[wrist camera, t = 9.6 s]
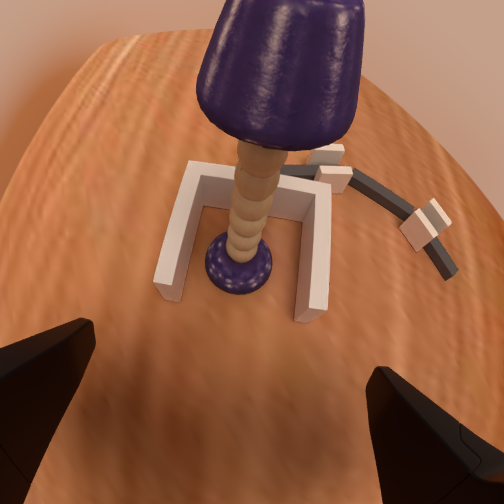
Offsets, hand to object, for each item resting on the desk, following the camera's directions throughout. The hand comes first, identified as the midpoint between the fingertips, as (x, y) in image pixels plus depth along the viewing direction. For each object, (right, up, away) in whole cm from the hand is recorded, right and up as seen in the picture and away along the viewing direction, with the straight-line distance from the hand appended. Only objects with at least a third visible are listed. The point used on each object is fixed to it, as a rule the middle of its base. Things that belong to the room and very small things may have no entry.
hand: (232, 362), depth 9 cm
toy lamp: (0, +2, +11) cm, 11 cm away
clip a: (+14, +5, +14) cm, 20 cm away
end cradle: (0, +3, +11) cm, 12 cm away
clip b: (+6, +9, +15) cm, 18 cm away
